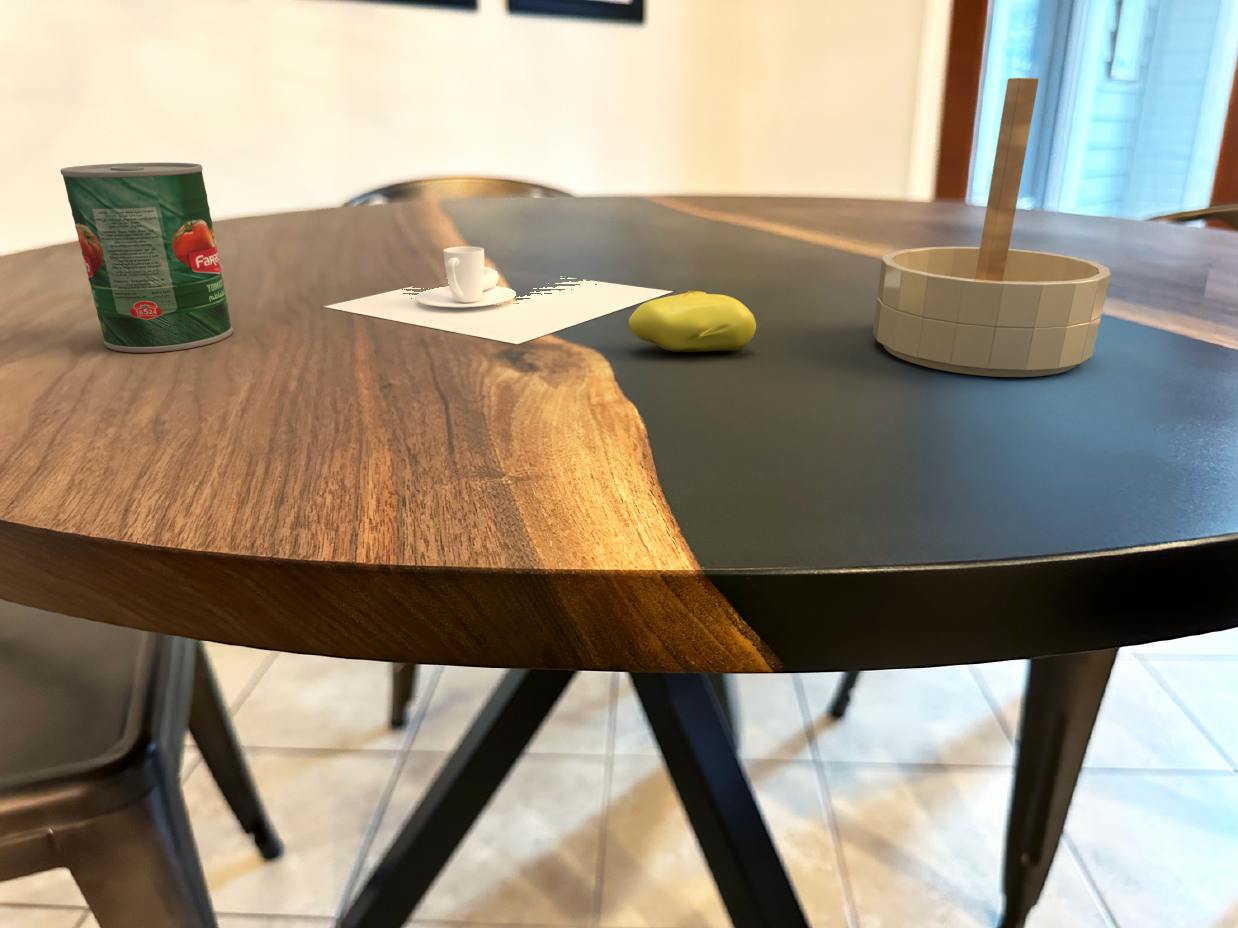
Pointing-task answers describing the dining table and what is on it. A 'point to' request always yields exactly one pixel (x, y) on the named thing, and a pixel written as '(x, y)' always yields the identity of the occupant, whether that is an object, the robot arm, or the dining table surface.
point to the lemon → (694, 322)
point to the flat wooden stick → (1006, 177)
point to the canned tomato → (149, 254)
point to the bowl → (989, 311)
